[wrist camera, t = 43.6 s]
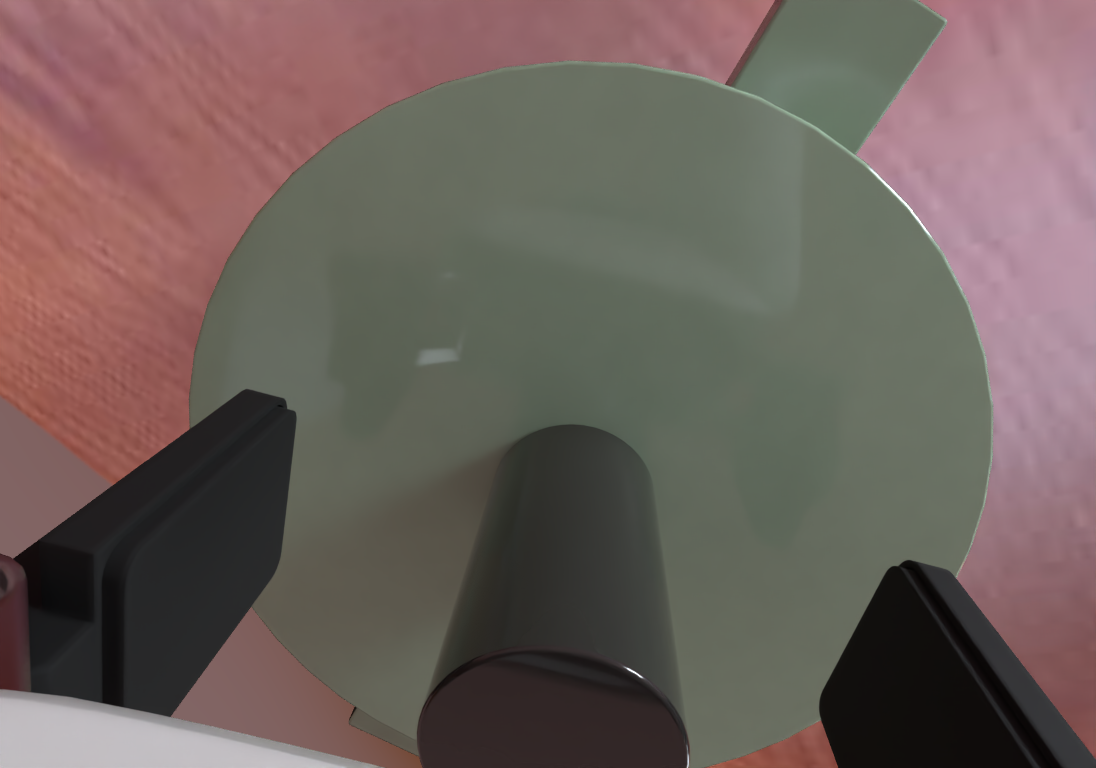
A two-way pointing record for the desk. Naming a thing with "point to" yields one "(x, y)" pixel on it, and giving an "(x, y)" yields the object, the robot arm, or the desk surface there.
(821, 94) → the pot
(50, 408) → the desk surface
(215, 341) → the lid
